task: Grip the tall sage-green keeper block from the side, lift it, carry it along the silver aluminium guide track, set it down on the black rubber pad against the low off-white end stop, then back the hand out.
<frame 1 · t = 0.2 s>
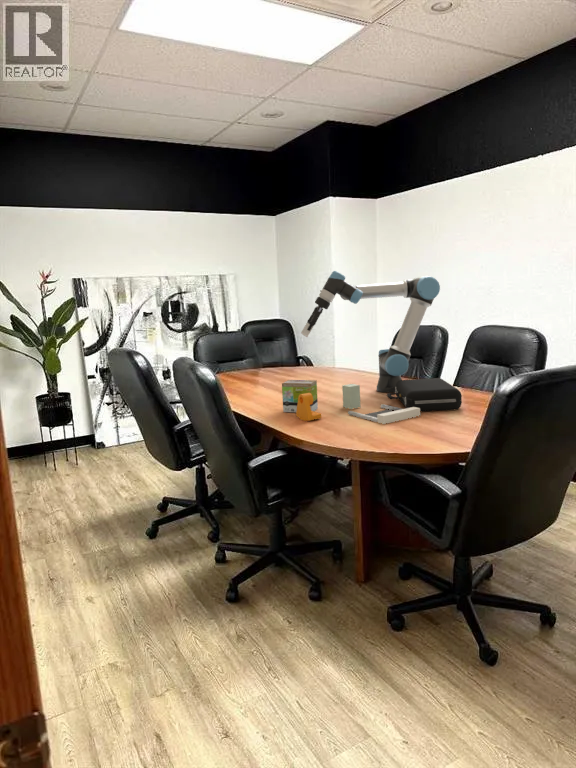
hand: (303, 335, 283), 35 cm above the table, tool tilted 35°, fingers open, 13 cm apart
tea box: (300, 411, 265), on the table
stop pad: (384, 415, 245), on the table
track rails: (380, 414, 247), on the table
end stop: (399, 419, 237), on the table
bracket: (309, 419, 248), on the table
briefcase: (420, 404, 264), on the table
keeper block: (351, 407, 266), on the table
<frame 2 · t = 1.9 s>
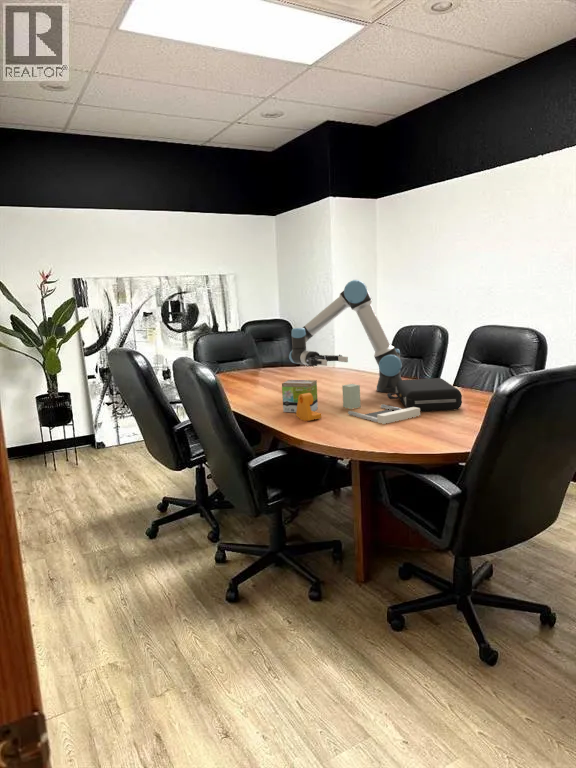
hand: (337, 361, 270), 22 cm above the table, tool horizontal, fingers open, 13 cm apart
nothing on the table moved.
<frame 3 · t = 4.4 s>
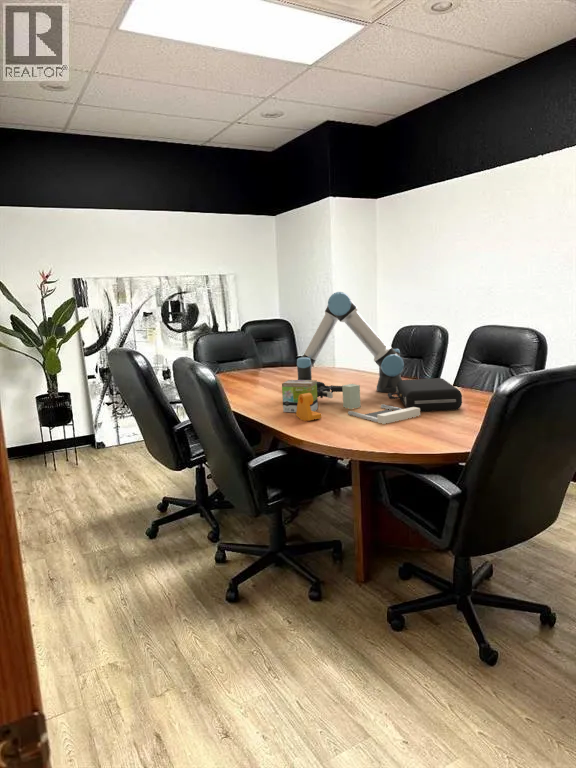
hand: (342, 393, 269), 6 cm above the table, tool horizontal, fingers open, 13 cm apart
nothing on the table moved.
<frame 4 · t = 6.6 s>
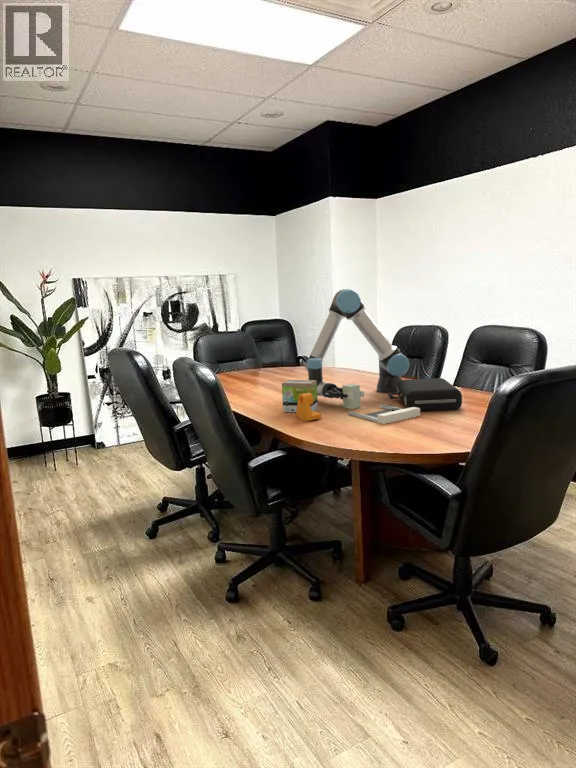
hand: (358, 395, 261), 7 cm above the table, tool horizontal, fingers closed on keeper block, 6 cm apart
keeper block: (351, 407, 266), on the table, touching gripper
everything else where it was.
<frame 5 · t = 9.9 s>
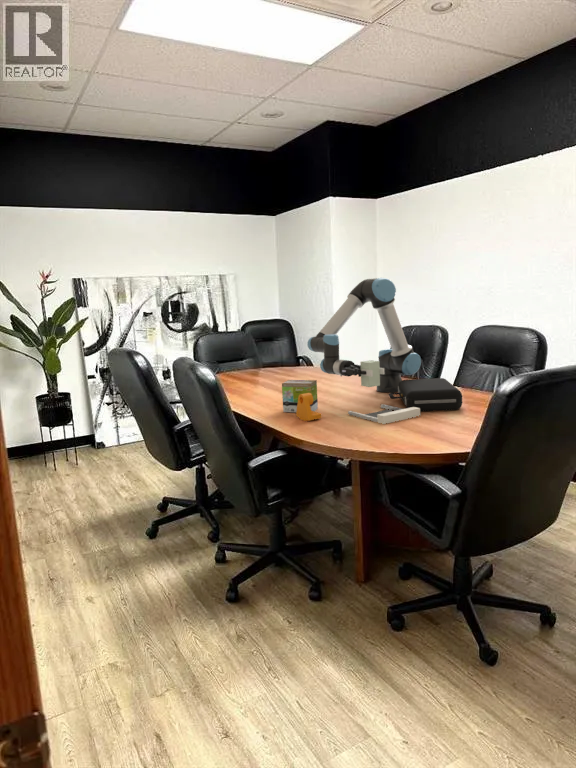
hand: (377, 372, 241), 20 cm above the table, tool horizontal, fingers closed on keeper block, 6 cm apart
keeper block: (370, 385, 246), point 13 cm above the table, touching gripper
everything else where it was.
when the fingers open (8 cm above the table, at t = 13.1 s): keeper block drops 1 cm, resting on stop pad.
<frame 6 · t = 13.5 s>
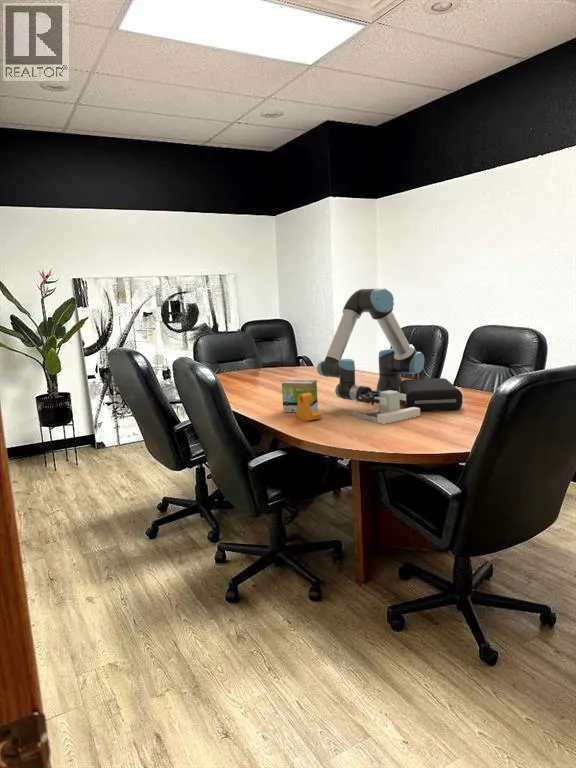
hand: (395, 399, 237), 8 cm above the table, tool horizontal, fingers open, 11 cm apart
keeper block: (390, 416, 242), resting on stop pad
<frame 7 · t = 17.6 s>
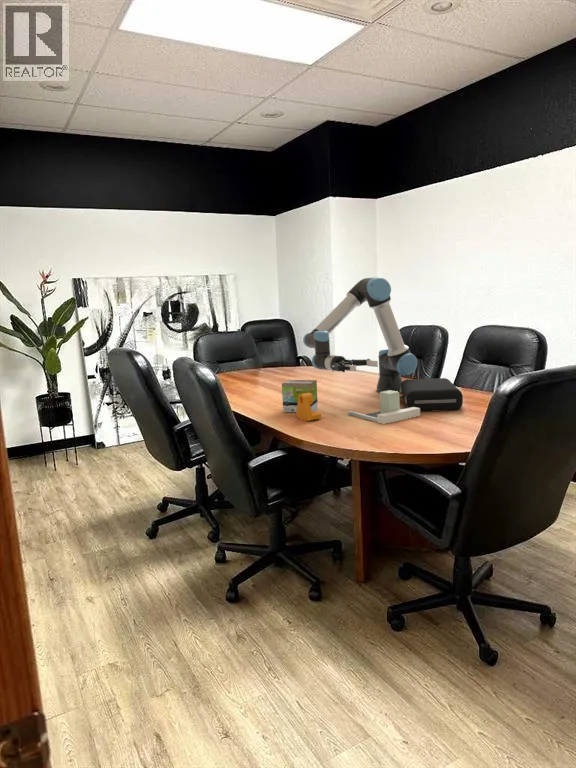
hand: (366, 366, 249), 22 cm above the table, tool horizontal, fingers open, 13 cm apart
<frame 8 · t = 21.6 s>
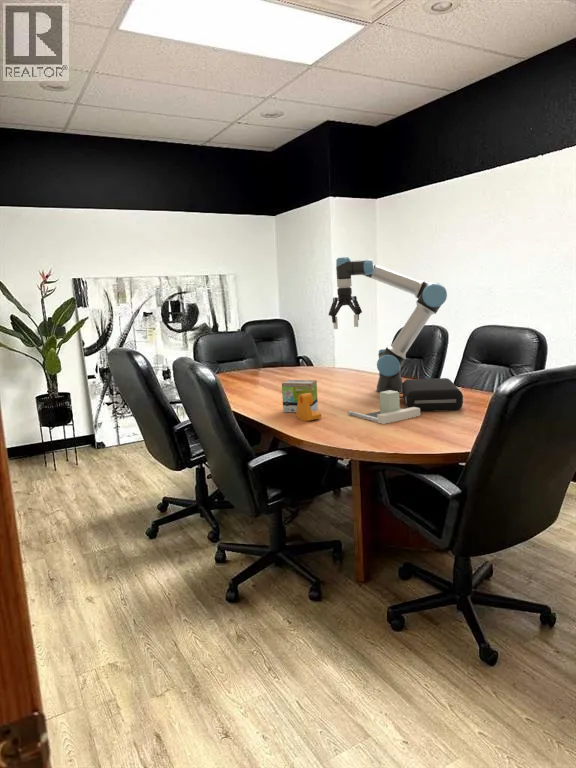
hand: (346, 327, 289), 37 cm above the table, tool pointing down, fingers open, 13 cm apart
at the end: keeper block inside the target area (0.3 cm from its centre), resting on stop pad; keeper block tilted 0°; the gripper is holding nothing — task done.
